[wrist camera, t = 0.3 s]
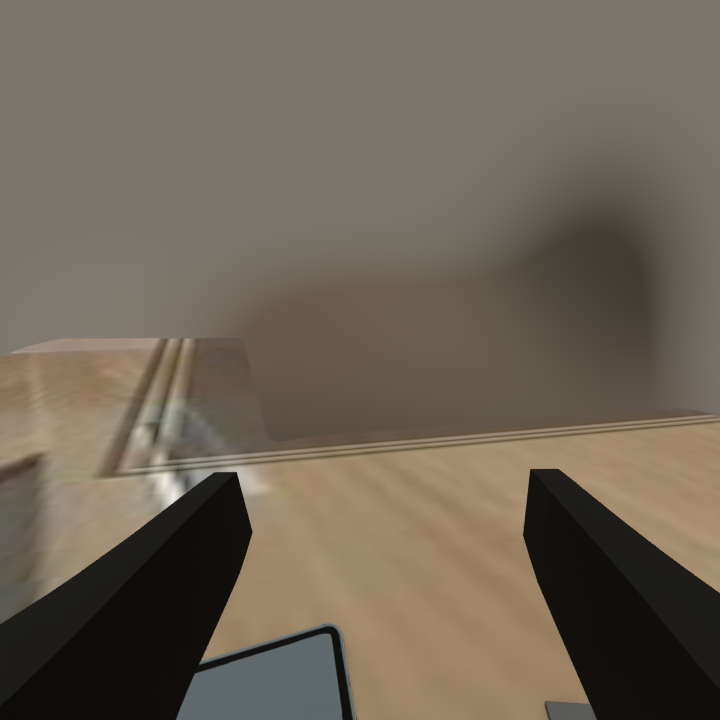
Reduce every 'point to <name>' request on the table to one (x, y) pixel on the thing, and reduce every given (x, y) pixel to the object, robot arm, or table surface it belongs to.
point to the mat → (569, 711)
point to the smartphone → (275, 681)
